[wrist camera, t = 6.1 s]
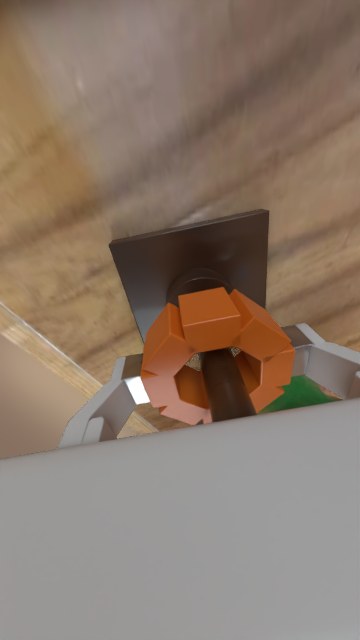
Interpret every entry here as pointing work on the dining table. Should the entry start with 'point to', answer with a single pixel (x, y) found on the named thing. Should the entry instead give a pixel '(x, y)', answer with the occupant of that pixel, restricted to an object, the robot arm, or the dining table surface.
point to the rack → (199, 286)
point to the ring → (210, 334)
